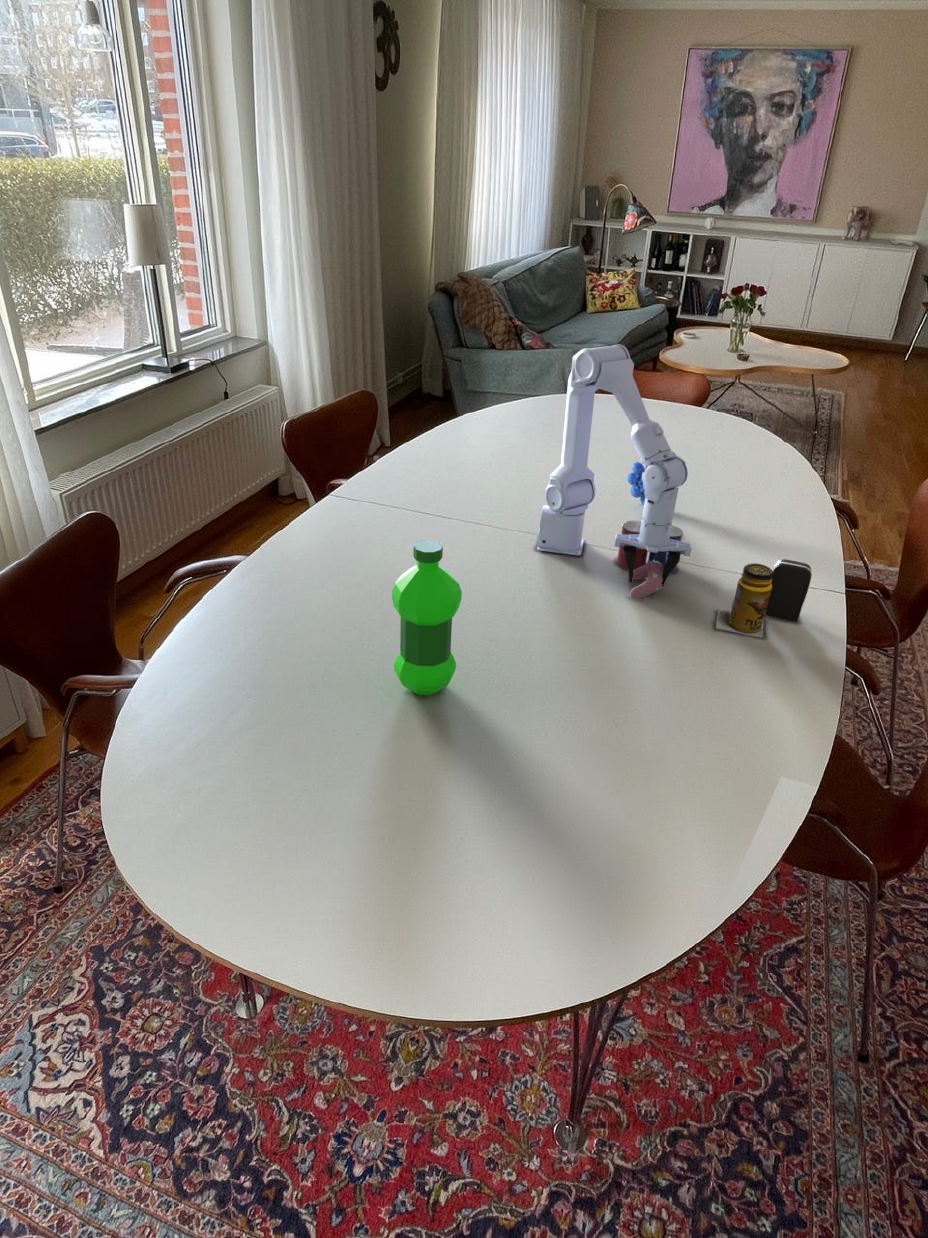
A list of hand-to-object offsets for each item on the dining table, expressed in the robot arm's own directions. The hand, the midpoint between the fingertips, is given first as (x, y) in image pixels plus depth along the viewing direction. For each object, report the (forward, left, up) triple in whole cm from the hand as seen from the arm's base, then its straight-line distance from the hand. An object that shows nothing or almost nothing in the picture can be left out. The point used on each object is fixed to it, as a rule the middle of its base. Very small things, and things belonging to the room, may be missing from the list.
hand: (645, 582), depth 166 cm
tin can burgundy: (-3, +12, -2) cm, 12 cm away
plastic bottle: (-34, -44, -2) cm, 56 cm away
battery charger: (+26, -2, -2) cm, 26 cm away
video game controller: (0, 0, -2) cm, 2 cm away
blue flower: (-1, +45, -2) cm, 45 cm away
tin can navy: (+3, +12, -2) cm, 12 cm away
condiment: (+18, -8, -2) cm, 20 cm away
